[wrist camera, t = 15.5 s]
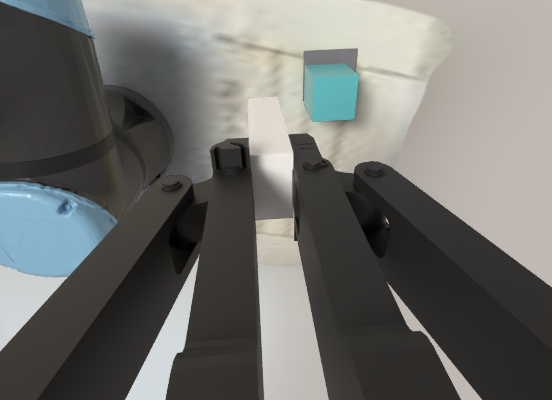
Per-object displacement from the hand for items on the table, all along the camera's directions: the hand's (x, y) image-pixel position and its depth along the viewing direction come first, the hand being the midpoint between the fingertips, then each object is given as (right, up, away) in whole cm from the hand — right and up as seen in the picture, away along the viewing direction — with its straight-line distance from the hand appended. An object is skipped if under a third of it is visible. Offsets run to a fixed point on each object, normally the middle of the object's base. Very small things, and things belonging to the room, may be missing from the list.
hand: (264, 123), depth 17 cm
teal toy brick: (+7, +12, +27) cm, 30 cm away
